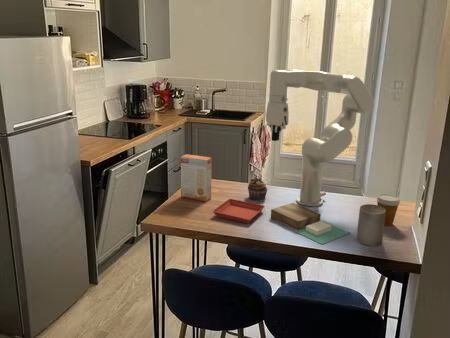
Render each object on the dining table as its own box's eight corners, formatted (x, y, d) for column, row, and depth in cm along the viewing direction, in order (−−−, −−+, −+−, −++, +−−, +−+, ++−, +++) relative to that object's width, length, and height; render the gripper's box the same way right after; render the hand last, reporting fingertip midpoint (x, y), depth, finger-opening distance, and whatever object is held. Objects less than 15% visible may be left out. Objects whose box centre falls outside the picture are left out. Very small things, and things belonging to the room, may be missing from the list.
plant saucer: (265, 212, 198) (265, 205, 197) (249, 226, 182) (250, 219, 181) (229, 204, 205) (229, 198, 204) (211, 218, 190) (211, 211, 189)
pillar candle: (374, 234, 177) (378, 200, 172) (386, 245, 167) (391, 209, 163) (351, 236, 175) (355, 201, 171) (363, 247, 166) (367, 210, 162)
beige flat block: (331, 225, 179) (331, 230, 179) (320, 220, 183) (319, 225, 184) (317, 231, 173) (316, 235, 174) (306, 226, 178) (305, 230, 178)
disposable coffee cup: (385, 229, 182) (389, 202, 179) (368, 220, 190) (372, 195, 187) (401, 225, 186) (405, 199, 183) (384, 217, 194) (388, 192, 191)
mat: (323, 221, 188) (323, 221, 188) (350, 233, 178) (350, 232, 178) (295, 231, 177) (295, 231, 177) (322, 244, 167) (322, 244, 167)
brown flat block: (292, 210, 199) (293, 202, 198) (319, 222, 187) (320, 213, 186) (270, 217, 191) (271, 209, 190) (297, 230, 179) (298, 221, 178)
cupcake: (262, 202, 208) (264, 182, 205) (244, 199, 212) (245, 179, 209) (269, 196, 217) (270, 177, 214) (251, 193, 221) (252, 174, 218)
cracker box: (211, 198, 212) (212, 157, 206) (205, 202, 207) (206, 160, 201) (186, 193, 218) (186, 153, 212) (180, 197, 212) (180, 156, 206)
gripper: (296, 100, 185) (293, 142, 190) (272, 96, 196) (269, 136, 201) (284, 102, 180) (281, 144, 186) (259, 97, 192) (257, 138, 197)
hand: (275, 140), depth 194 cm, fingers closed
